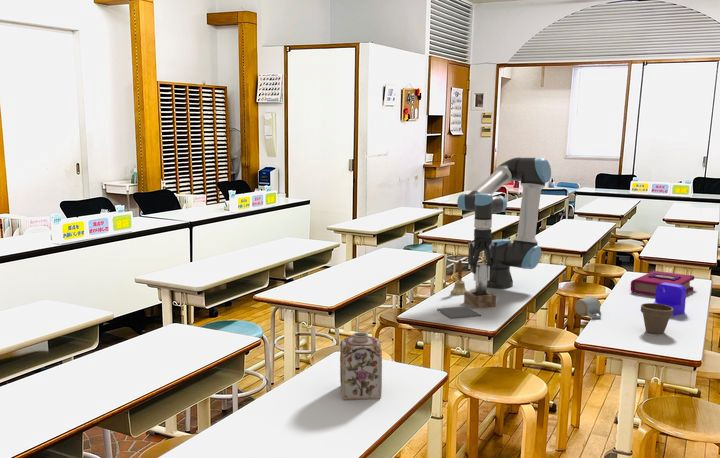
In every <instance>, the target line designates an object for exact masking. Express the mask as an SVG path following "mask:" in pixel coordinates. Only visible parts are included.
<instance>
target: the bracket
mask: <svg viewBox="0 0 720 458" xmlns="http://www.w3.org/2000/svg"><path fill="white" fill-rule="evenodd" d="M663 287H664V288H665V291H664V289H663ZM686 297H687V293H686V288H685V287H684V286H682V285H677V284H671V283H662V284H659V285H657V287H656V296H654V298H655V299H654V301H653V303H655V304H663V305H667V306H670V307H672V308H673V315H672V316H671V317H674V316H678V315H679V316H680V315H682V314H685V312H686V311H685V310H686V301H687V300H686V299H687V298H686Z"/></svg>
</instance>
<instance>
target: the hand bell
mask: <svg viewBox="0 0 720 458" xmlns="http://www.w3.org/2000/svg"><path fill="white" fill-rule="evenodd" d="M456 267H457V274H458V275H457V276H458V277H457V278H458V279H457V280H455V282H454V287H453V288H452V290H450V293H451V294H453V295H458V296H462V295H463V296H464V292H467V291H468V290H467V288H466V285H465V281H464V280H463V278H462V273H463V261H462V260H461V259H458V262H457V264H456Z"/></svg>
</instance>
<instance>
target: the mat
mask: <svg viewBox="0 0 720 458" xmlns="http://www.w3.org/2000/svg"><path fill="white" fill-rule="evenodd" d="M436 311H438V312H439V311H440V313H441V314H442V313H443V314H442V315H444V316H445V317H447V318H449V319H460V318H472V317H473V318H474V317H481V316H482V314H481V313H479V312H478V311H476V310H474V309H472V308H470V307H468V306H466V305H464V306H454V307H453V306H452V307H451V306H450V307H442V308H439V307H438V308H436Z"/></svg>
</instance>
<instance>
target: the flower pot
mask: <svg viewBox="0 0 720 458" xmlns="http://www.w3.org/2000/svg"><path fill="white" fill-rule="evenodd" d="M640 312H641V313H642V318H643V322H644V328H645V331H646V332H647V333H648V334H649V333H650V334H655V335H662V334H664V333H665V331H666V328H667V326H668V323H669V321H670V317H673V316H672V315H673V308H672V307H670V306H667V305H663V304H655V303H654V302H647V303H642V304H641V305H640Z"/></svg>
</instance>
